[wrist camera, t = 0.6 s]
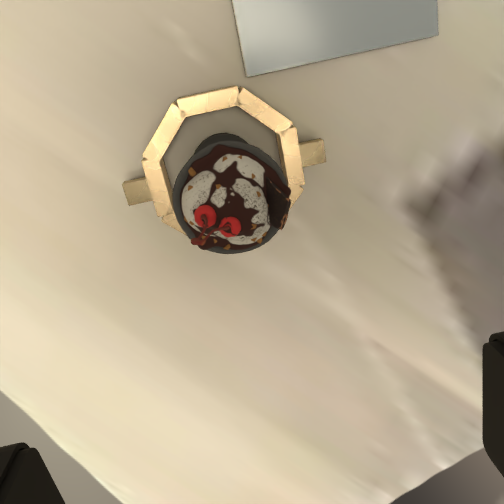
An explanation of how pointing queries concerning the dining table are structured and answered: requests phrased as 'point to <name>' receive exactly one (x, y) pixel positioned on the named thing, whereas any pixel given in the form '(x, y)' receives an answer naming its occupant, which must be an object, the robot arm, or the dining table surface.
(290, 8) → the plate
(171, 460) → the dining table surface
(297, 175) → the collar
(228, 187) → the sundae
